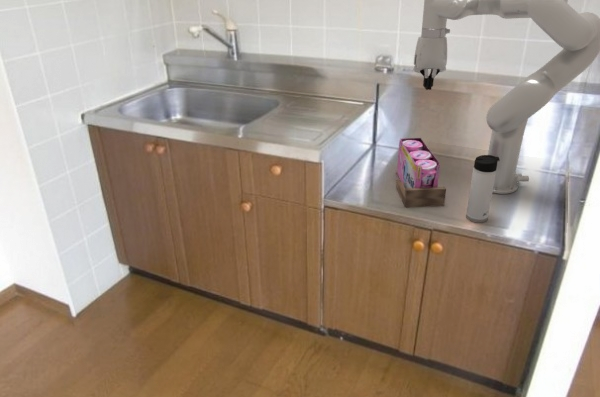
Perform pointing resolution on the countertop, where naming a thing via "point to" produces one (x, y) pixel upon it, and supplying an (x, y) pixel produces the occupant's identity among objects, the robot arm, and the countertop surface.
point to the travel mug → (481, 188)
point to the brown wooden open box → (421, 195)
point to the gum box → (417, 164)
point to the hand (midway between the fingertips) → (427, 88)
